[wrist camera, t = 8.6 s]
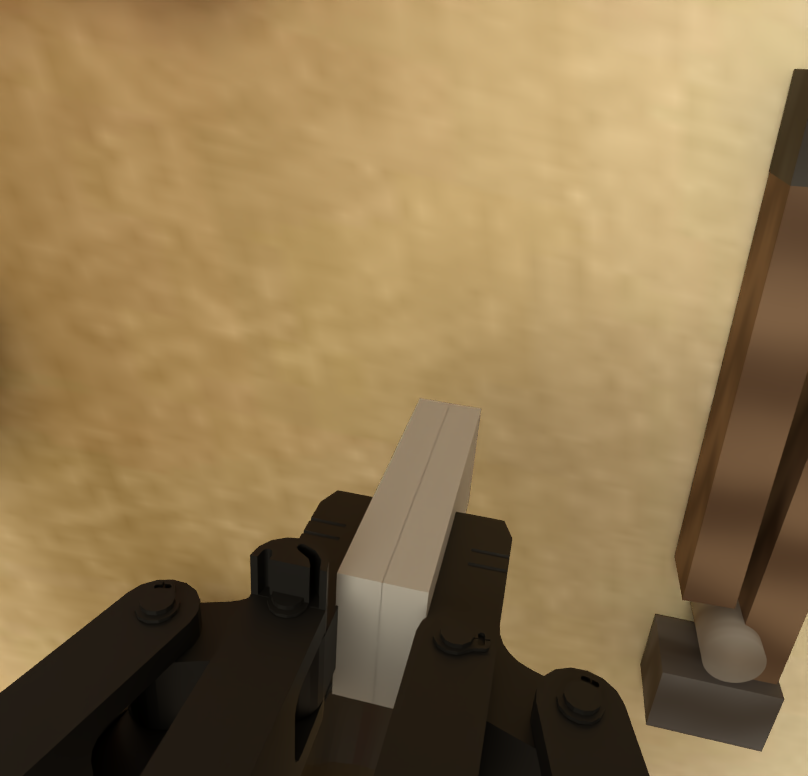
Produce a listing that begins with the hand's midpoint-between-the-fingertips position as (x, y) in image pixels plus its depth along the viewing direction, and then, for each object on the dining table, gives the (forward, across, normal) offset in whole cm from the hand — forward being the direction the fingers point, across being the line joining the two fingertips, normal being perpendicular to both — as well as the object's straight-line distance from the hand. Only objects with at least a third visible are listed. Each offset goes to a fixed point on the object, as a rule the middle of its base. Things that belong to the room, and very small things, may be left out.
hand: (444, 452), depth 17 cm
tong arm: (+19, -12, +3) cm, 23 cm away
